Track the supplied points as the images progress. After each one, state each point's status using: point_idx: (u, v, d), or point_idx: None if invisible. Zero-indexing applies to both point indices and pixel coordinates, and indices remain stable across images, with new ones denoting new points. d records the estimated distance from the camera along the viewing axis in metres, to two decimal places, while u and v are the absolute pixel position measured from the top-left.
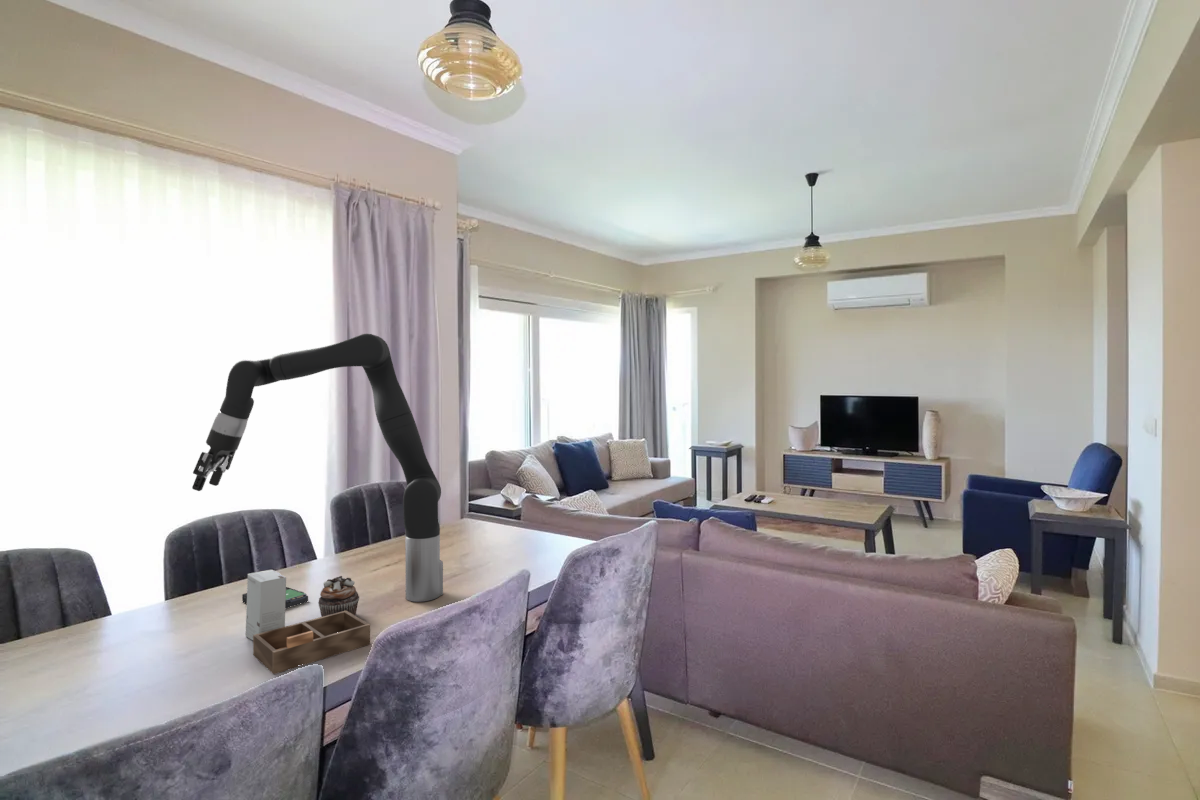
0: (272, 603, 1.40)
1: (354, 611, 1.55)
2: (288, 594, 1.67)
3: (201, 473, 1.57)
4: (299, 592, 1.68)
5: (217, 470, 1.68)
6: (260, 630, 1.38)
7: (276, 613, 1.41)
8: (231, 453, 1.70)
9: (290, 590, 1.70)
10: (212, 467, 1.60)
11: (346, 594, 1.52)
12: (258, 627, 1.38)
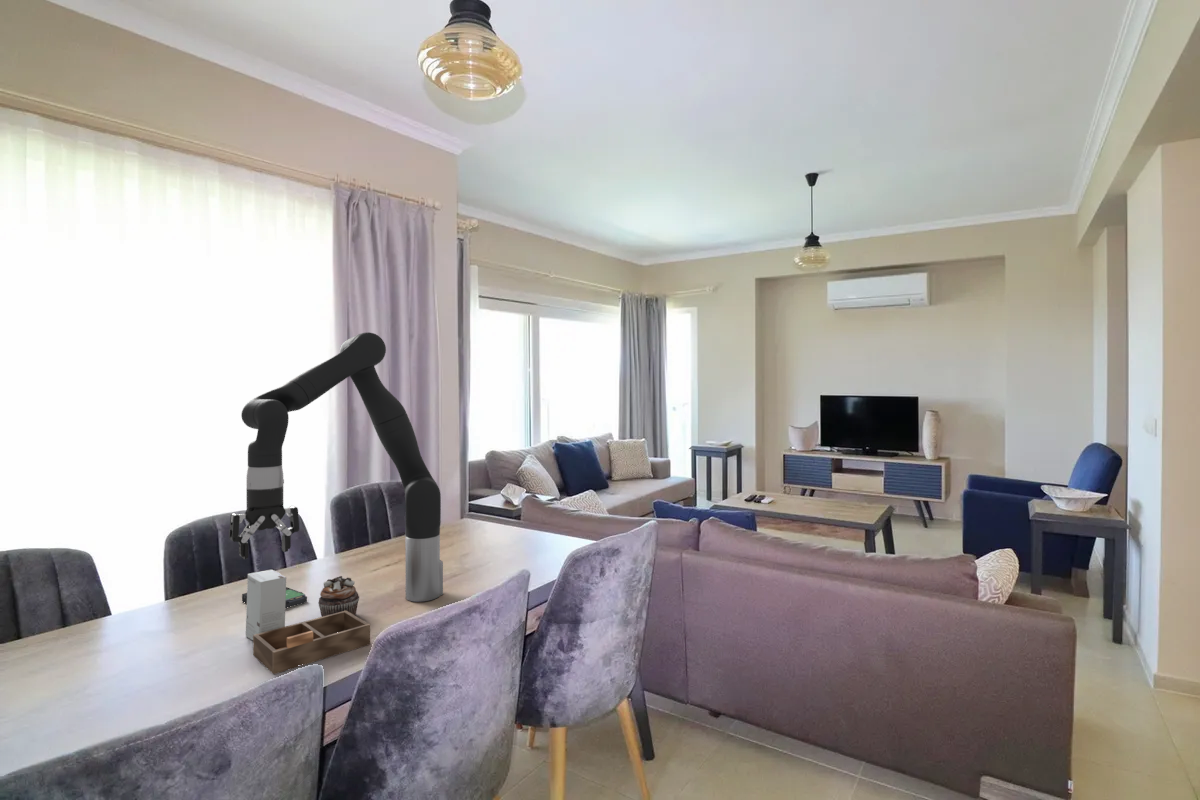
0: (272, 603, 1.40)
1: (354, 611, 1.55)
2: (288, 594, 1.66)
3: None
4: (298, 592, 1.68)
5: None
6: (260, 630, 1.38)
7: (276, 613, 1.41)
8: None
9: (289, 590, 1.69)
10: None
11: (346, 594, 1.53)
12: (258, 627, 1.38)
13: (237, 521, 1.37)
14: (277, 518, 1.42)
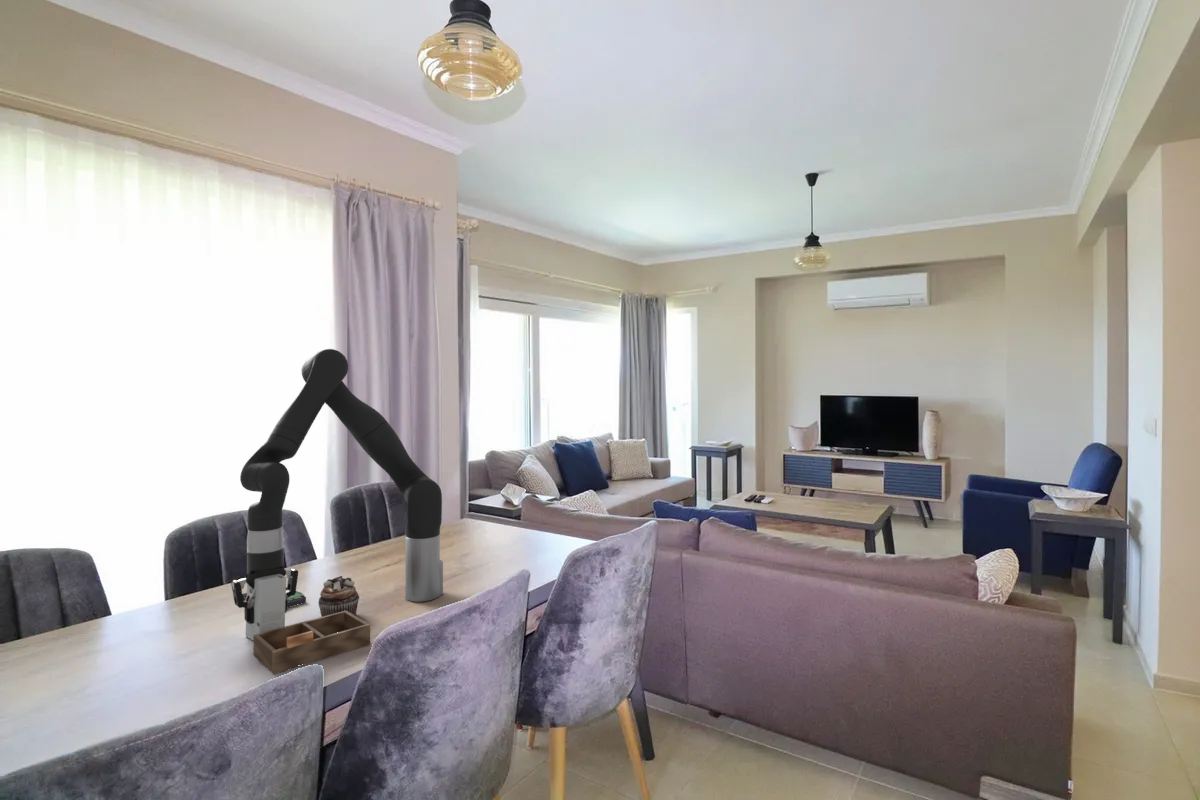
0: (271, 603, 1.40)
1: (354, 611, 1.55)
2: None
3: None
4: (297, 593, 1.67)
5: None
6: (260, 630, 1.38)
7: (276, 613, 1.41)
8: None
9: None
10: None
11: (346, 594, 1.53)
12: (258, 627, 1.38)
13: (239, 588, 1.37)
14: None
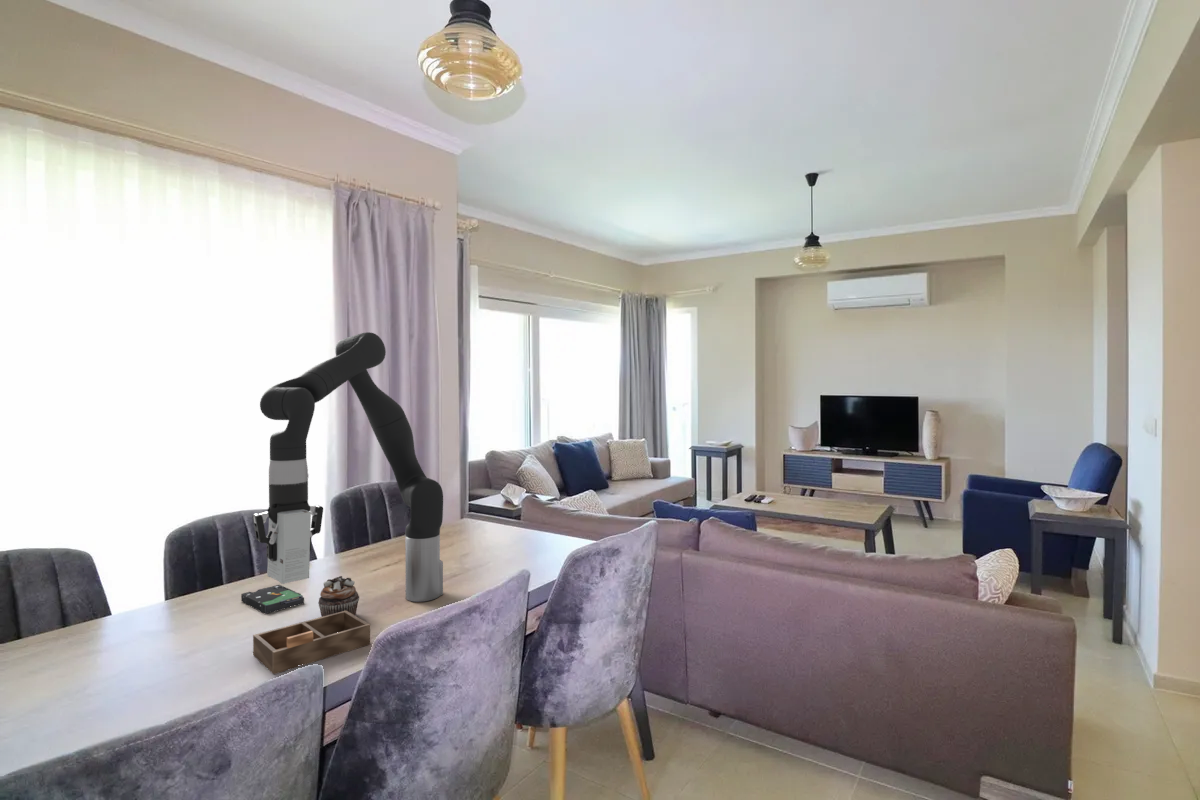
0: (295, 539, 1.29)
1: (354, 611, 1.55)
2: (285, 595, 1.66)
3: None
4: (296, 593, 1.67)
5: None
6: (284, 567, 1.28)
7: (300, 550, 1.30)
8: None
9: (288, 591, 1.69)
10: None
11: (346, 594, 1.53)
12: (282, 564, 1.28)
13: (261, 521, 1.27)
14: None
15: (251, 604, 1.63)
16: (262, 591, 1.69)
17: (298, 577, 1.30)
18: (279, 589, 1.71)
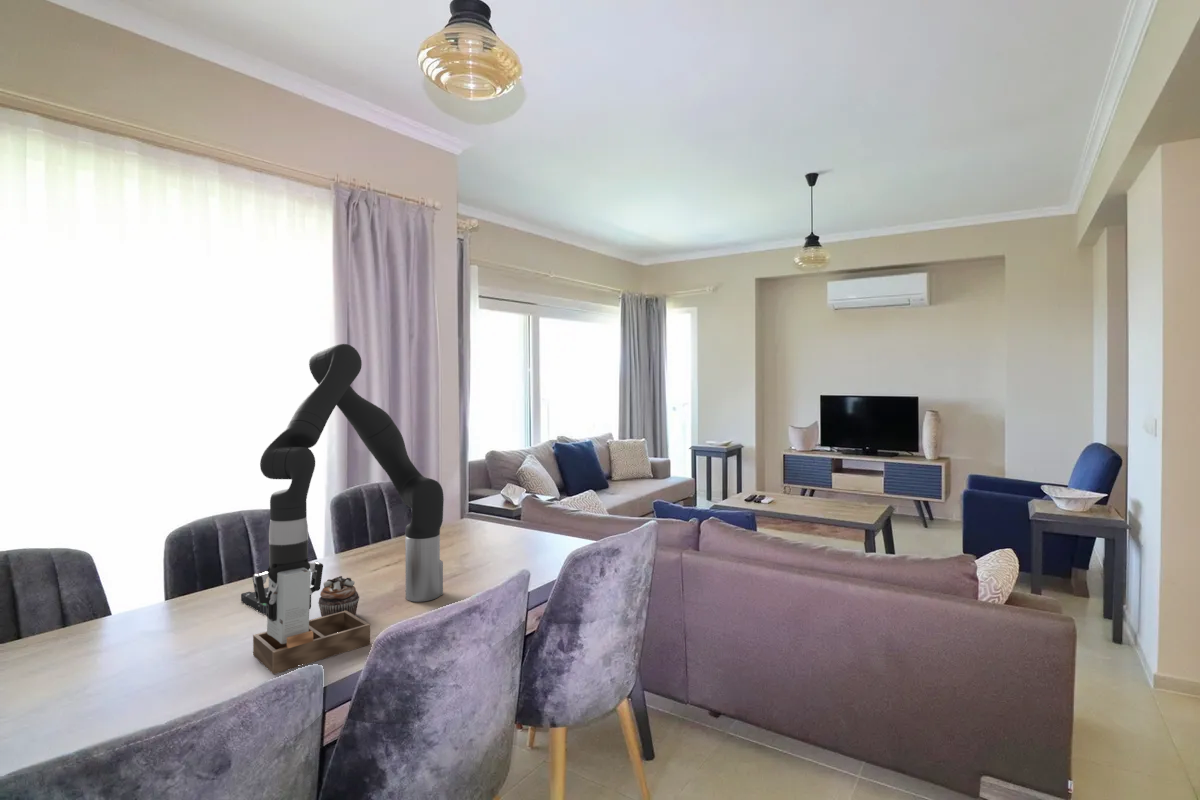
0: (295, 599, 1.30)
1: (354, 611, 1.55)
2: None
3: None
4: None
5: None
6: (283, 627, 1.28)
7: (300, 609, 1.31)
8: None
9: None
10: None
11: (346, 594, 1.53)
12: (281, 625, 1.28)
13: (261, 582, 1.27)
14: None
15: (250, 604, 1.63)
16: None
17: None
18: None
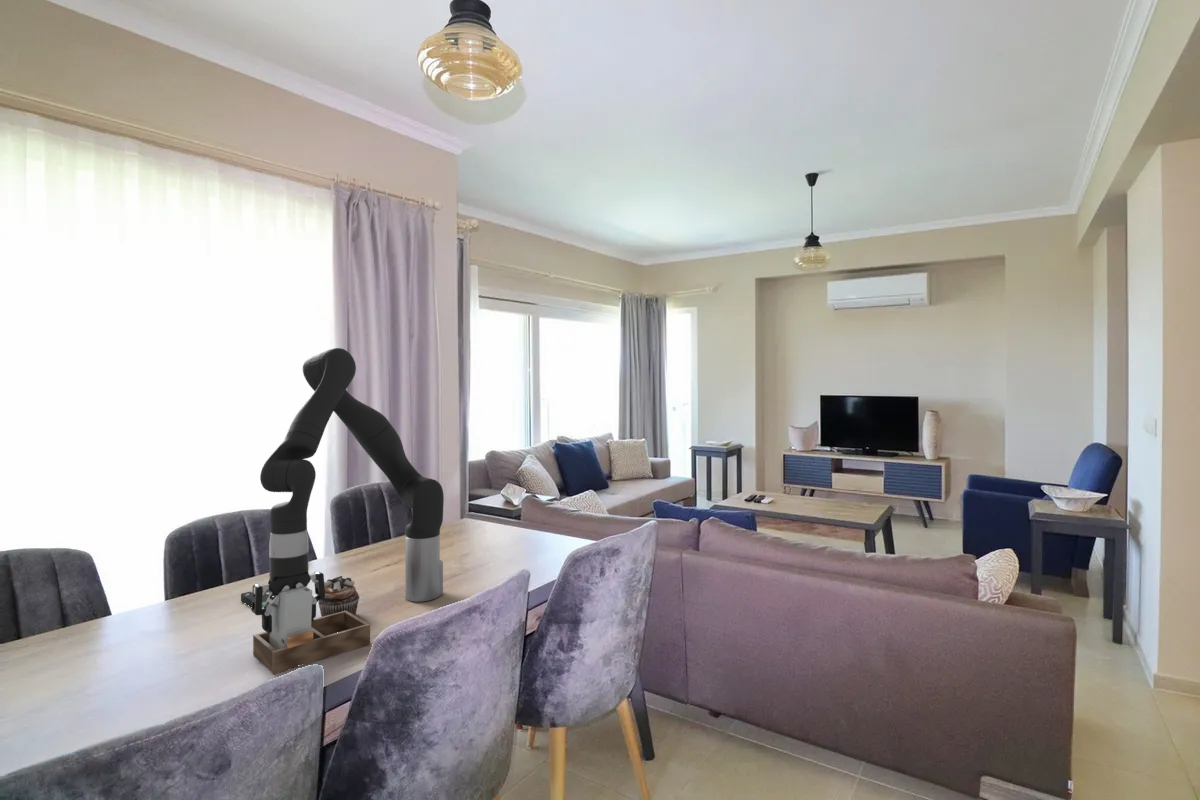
0: (297, 618, 1.30)
1: (354, 611, 1.55)
2: None
3: None
4: None
5: None
6: (285, 647, 1.28)
7: (302, 628, 1.31)
8: None
9: None
10: None
11: (346, 594, 1.53)
12: (283, 644, 1.28)
13: (260, 593, 1.27)
14: (302, 586, 1.33)
15: (249, 604, 1.63)
16: None
17: None
18: None
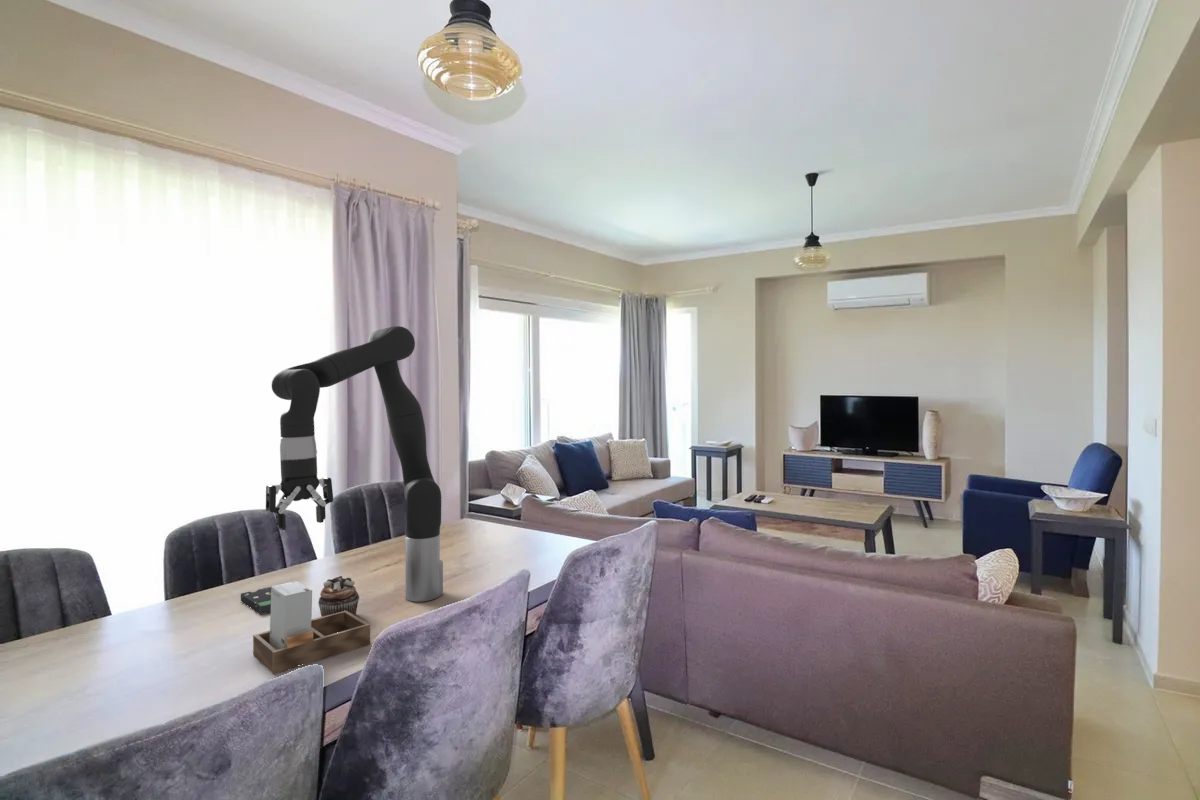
0: (297, 618, 1.30)
1: (354, 611, 1.55)
2: None
3: None
4: None
5: None
6: (285, 647, 1.28)
7: (302, 628, 1.31)
8: None
9: None
10: None
11: (346, 594, 1.53)
12: (283, 644, 1.28)
13: (274, 492, 1.36)
14: (312, 488, 1.42)
15: (248, 604, 1.63)
16: (261, 591, 1.68)
17: None
18: None
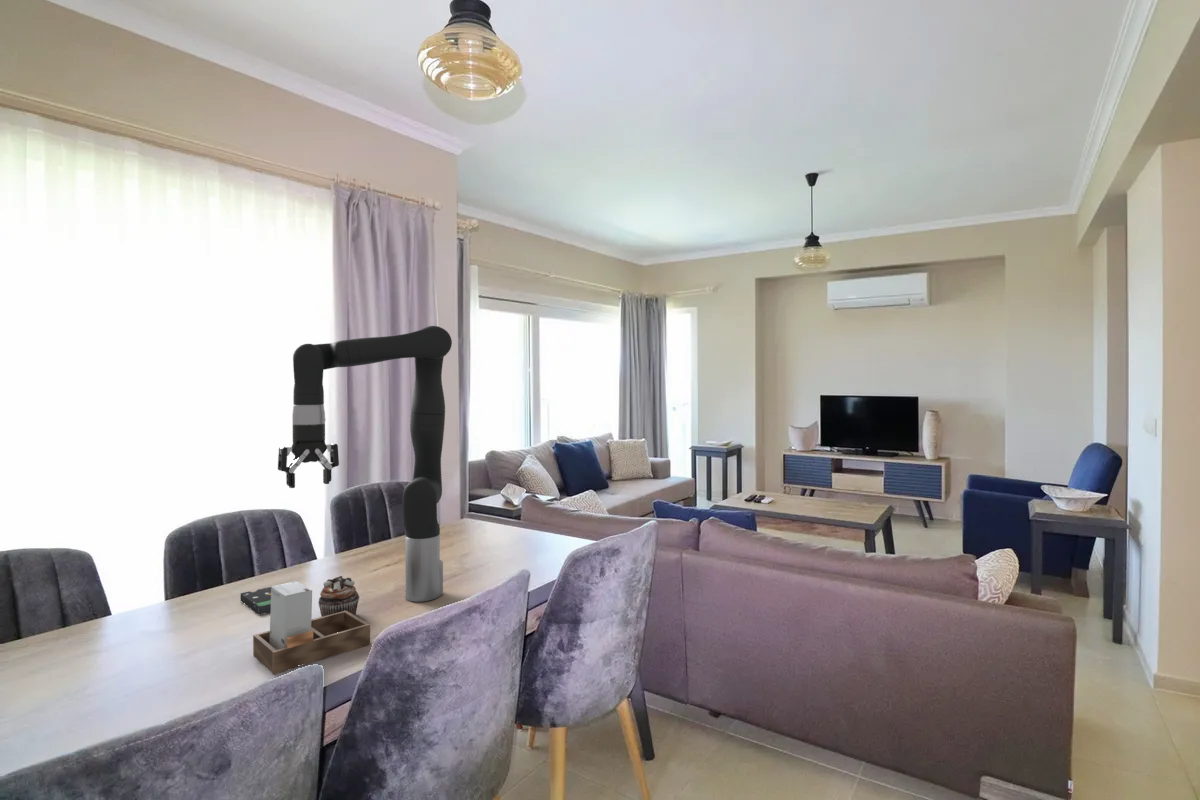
0: (297, 618, 1.30)
1: (354, 611, 1.55)
2: None
3: None
4: None
5: None
6: (285, 647, 1.28)
7: (302, 628, 1.31)
8: None
9: None
10: None
11: (346, 594, 1.53)
12: (283, 644, 1.28)
13: (285, 453, 1.51)
14: (320, 452, 1.57)
15: (248, 604, 1.63)
16: (261, 591, 1.68)
17: None
18: None
